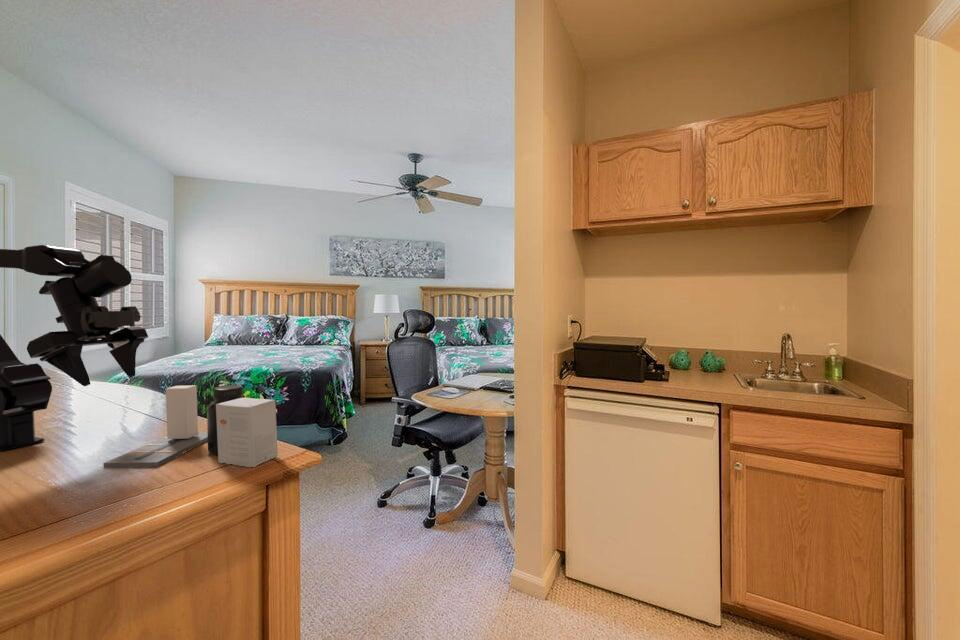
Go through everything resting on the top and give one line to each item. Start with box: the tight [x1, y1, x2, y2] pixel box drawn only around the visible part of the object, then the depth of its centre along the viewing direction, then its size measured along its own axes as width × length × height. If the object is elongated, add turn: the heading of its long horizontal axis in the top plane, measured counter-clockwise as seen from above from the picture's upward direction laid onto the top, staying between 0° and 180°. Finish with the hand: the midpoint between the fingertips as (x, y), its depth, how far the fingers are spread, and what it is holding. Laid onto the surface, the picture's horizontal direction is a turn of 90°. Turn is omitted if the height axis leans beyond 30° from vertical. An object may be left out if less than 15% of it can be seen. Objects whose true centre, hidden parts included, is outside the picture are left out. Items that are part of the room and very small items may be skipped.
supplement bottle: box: [206, 384, 244, 456], centre depth 79 cm, size 7×7×12 cm
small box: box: [216, 397, 279, 468], centre depth 74 cm, size 8×6×10 cm
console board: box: [102, 431, 208, 469], centre depth 79 cm, size 17×9×2 cm, turn 1°
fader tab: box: [165, 384, 199, 439], centre depth 84 cm, size 3×4×10 cm
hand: (111, 380), depth 81 cm, fingers open, 9 cm apart
